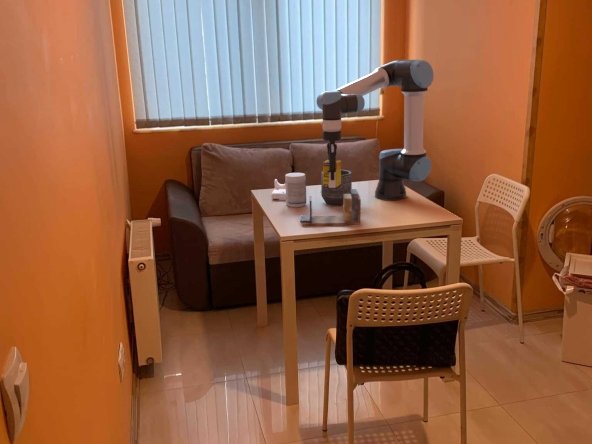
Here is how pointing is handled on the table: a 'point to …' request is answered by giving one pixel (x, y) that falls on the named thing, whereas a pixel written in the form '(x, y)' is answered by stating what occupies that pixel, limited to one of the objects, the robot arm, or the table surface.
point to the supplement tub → (295, 189)
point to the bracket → (279, 191)
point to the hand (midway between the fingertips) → (331, 185)
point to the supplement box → (326, 174)
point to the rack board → (333, 219)
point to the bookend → (307, 217)
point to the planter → (336, 195)
